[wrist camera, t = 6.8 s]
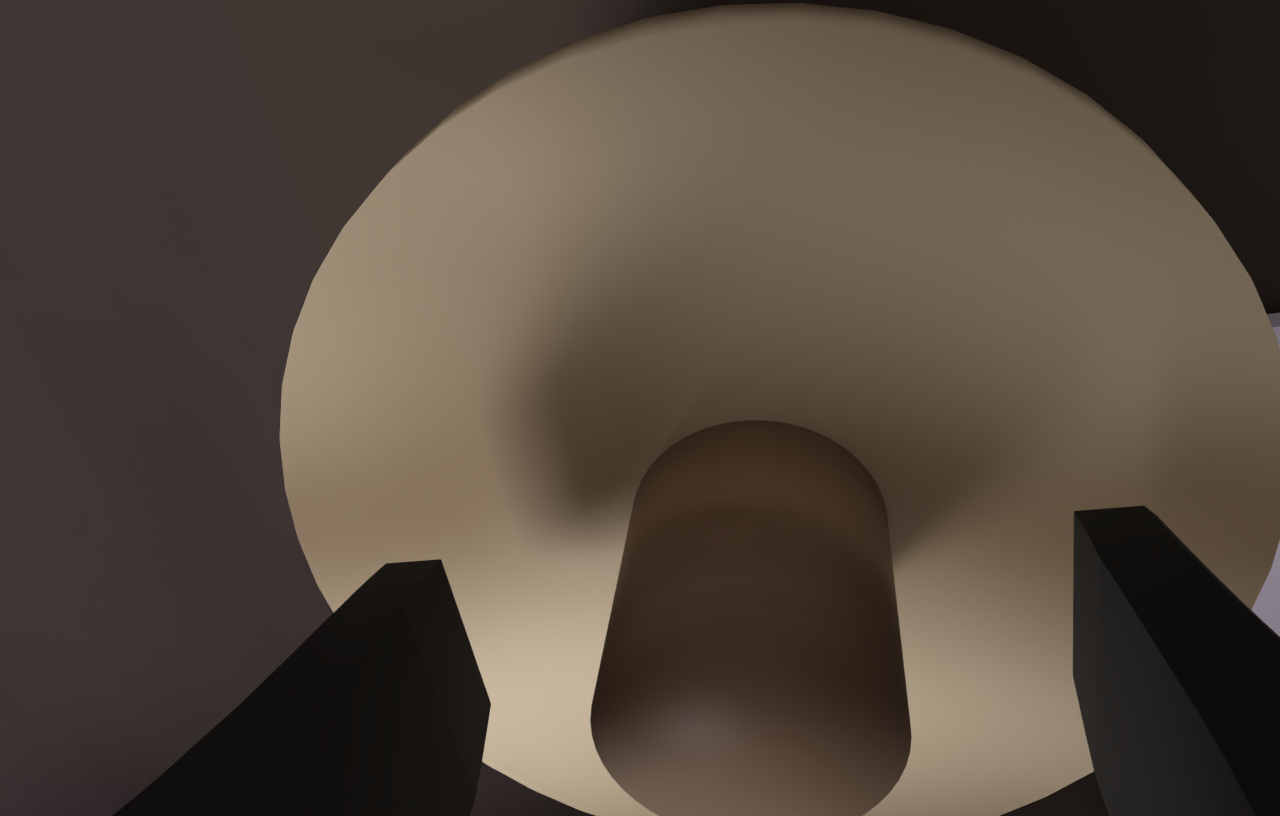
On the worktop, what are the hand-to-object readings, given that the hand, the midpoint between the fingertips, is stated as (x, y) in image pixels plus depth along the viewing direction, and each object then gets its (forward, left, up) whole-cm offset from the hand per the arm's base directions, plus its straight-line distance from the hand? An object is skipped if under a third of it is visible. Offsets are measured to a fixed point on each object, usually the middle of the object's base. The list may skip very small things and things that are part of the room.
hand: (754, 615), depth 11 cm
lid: (0, 0, -3) cm, 3 cm away
